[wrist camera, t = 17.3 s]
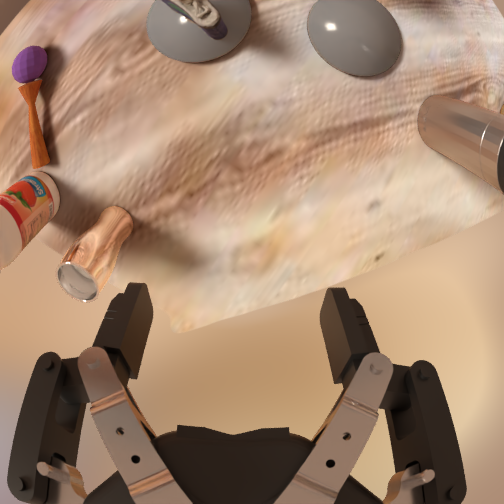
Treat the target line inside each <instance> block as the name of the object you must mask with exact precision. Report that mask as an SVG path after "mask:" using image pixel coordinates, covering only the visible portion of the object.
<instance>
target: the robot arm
mask: <svg viewBox="0 0 504 504" xmlns="http://www.w3.org/2000/svg"><path fill="white" fill-rule="evenodd" d="M418 129H419V133H420V135H421V138H422V139H423V141H424V142H425V143H426V144H427V145H428V146H429V147H431V148H432V149H434V150H436V151H438V152H439V153H441V154H443V155H445V156H446V157H448V158H450V159H451V160H453V161H455V162H456V163H458V164H460V165H461V166H463V167H465V168H466V169H468V170H469V171H471V172H472V173H474V174H475V175H477V176H478V177H480V178H481V179H483V180H484V181H486V182H487V183H489V184H490V185H492V186H493V187H495V188H496V189H497V190H499V191H500V192H501V193H503V194H504V115H503V114H500V113H497V112H495V111H492V110H489V109H486V108H483V107H480V106H477V105H474V104H471V103H467V102H464V101H461V100H457V99H454V98H450V97H446V96H442V95H433V96H431V97H429V98H427V99H426V100H425V101H424V102H423V104H422V105H421V108H420V110H419V114H418ZM152 319H153V306H152V303H151V299H150V295H149V292H148V288H147V285H146V284H145V283H131V282H130V283H129V284H128V285H127V288H126V290H125V292H124V294H123V293H119V294H118V295H117V296H116V297H115V298H114V299H113V300H112V301H111V303H110V305H109V307H108V309H107V312H106V314H105V317H104V319H103V321H102V324H101V326H100V328H99V331H98V334H97V336H96V338H95V341H94V343H93V346H92V347H90V348H87V349H85V350H84V351H83V352H82V353H81V354H80V356H79V357H76V358H69V359H61V358H60V357H59V356H58V355H57V354H56V353H54V352H47V353H44V354H43V355H41V356H40V357H39V359H38V360H37V362H36V365H35V368H34V370H33V373H32V376H31V379H30V382H29V385H28V388H27V391H26V394H25V397H24V401H23V404H22V408H21V411H20V415H19V418H18V423H17V427H16V431H15V435H14V440H13V445H12V450H11V456H10V462H9V468H8V476H7V482H8V487H9V489H10V491H11V493H12V494H13V495H14V496H15V497H16V498H17V499H18V500H20V501H23V502H26V503H30V504H461V502H462V501H463V500H464V498H465V495H466V490H467V488H466V480H465V474H464V469H463V463H462V458H461V453H460V449H459V444H458V440H457V436H456V432H455V428H454V425H453V421H452V417H451V414H450V410H449V407H448V404H447V401H446V397H445V394H444V391H443V389H442V385H441V382H440V380H439V377H438V374H437V371H436V369H435V367H434V366H433V365H432V364H431V363H429V362H427V361H424V360H419V361H416V362H415V363H414V364H413V365H412V366H411V367H409V366H402V365H396V364H392V363H391V361H390V359H389V358H388V357H387V356H385V355H383V354H381V353H380V351H379V349H378V346H377V343H376V340H375V338H374V335H373V332H372V330H371V327H370V325H369V322H368V319H367V318H366V314H365V312H364V310H363V307H362V306H361V305H360V303H358V301H357V300H356V299H350V298H349V296H348V293H347V291H346V289H345V288H328V289H327V291H326V294H325V298H324V301H323V305H322V308H321V311H320V324H321V329H322V333H323V337H324V340H325V345H326V349H327V353H328V358H329V362H330V367H331V371H332V376H333V381H334V384H338V383H342V384H343V388H344V389H343V391H342V392H341V394H340V396H339V398H338V399H337V401H336V403H335V405H334V406H333V408H332V410H331V411H330V413H329V415H328V416H327V418H326V420H325V421H324V423H323V424H322V426H321V427H320V429H319V430H318V432H317V433H316V434H315V436H314V437H313V439H312V440H311V441H310V440H308V439H307V438H305V437H302V436H300V435H296V434H292V433H289V427H286V428H263V429H258V430H254V431H250V432H245V433H241V434H236V435H230V434H226V433H222V432H219V431H215V430H212V429H208V428H205V427H194V426H183V425H177V431H172V432H168V433H165V434H162V435H160V436H158V437H157V436H156V434H155V432H154V431H153V429H152V428H151V427H150V425H149V424H148V422H147V421H146V419H145V417H144V416H143V414H142V412H141V410H140V409H139V407H138V405H137V403H136V401H135V399H134V398H133V396H132V394H131V392H130V390H129V388H128V386H127V384H128V380H129V378H131V379H137V377H138V373H139V368H140V365H141V361H142V357H143V353H144V349H145V345H146V342H147V338H148V334H149V331H150V327H151V323H152ZM89 402H91V405H92V407H91V408H90V412H91V415H92V417H93V420H94V422H95V424H96V427H97V429H98V431H99V433H100V436H101V438H102V440H103V442H104V444H105V446H106V448H107V450H108V452H109V454H110V456H111V458H112V460H113V462H114V463H115V465H116V467H117V469H118V470H117V471H116V472H115V473H114V474H113V475H112V476H111V477H109V478H108V479H107V480H106V481H104V482H103V483H102V484H101V485H100V486H98V487H97V488H96V489H95V490H93V491H92V492H91V493H90V494H89V495H87V494H86V492H85V490H84V487H83V486H84V482H83V479H82V475H81V474H80V472H79V471H78V470H77V469H76V460H77V454H78V447H79V441H80V435H81V428H82V423H83V418H84V413H85V409H86V404H87V403H89ZM378 408H380V409H385V414H386V419H387V424H388V429H389V435H390V440H391V446H392V452H393V458H394V465H395V472H396V474H394V475H393V476H392V478H391V479H390V481H389V483H388V488H387V495H386V497H385V499H384V500H383V501H381V500H380V499H379V498H378V497H377V496H375V495H374V494H373V493H372V492H370V491H369V490H368V489H367V488H365V487H364V486H363V485H362V484H360V483H359V482H358V481H357V480H356V479H354V478H353V477H352V476H351V475H350V472H351V471H352V469H353V467H354V465H355V463H356V462H357V460H358V458H359V456H360V454H361V452H362V450H363V449H364V447H365V445H366V443H367V441H368V439H369V437H370V435H371V433H372V431H373V428H374V426H375V424H376V422H377V419H378V416H379V414H378V413H377V411H378Z"/></svg>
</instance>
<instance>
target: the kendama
mask: <svg viewBox="0 0 504 504" xmlns="http://www.w3.org/2000/svg"><path fill="white" fill-rule="evenodd" d="M46 64H47V54H46V52H45V50H44V49H43V48H41V47H40V46H30V47H27V48H25V49H24V50H23V51H21V52H20V53H19V54H18V55H17V57H16V58H15V60H14V63H13V65H12V74H13V76H14V78H15V80H16V81H18V82H19V83H26V84H25V85H23V86H21V87H19V88H18V89H19V91H20V92H21V94H22V96H23V97H24V99H25V100H26V102H27V104H28V105H29V132H30V146H31V157H32V166H33V168H34V169H36V168H40V167H42V166H45V165H46V164H48V163H49V162H50V159H49V155H48V152H47V149H46V145H45V142H44V138H43V135H42V131H41V127H40V123H39V119H38V115H37V111H36V106H35V101H36V98H37V95H38V92H39V89H40V85H41V83H42V80H36V81H34V80H35V79H37V78H38V77H39V76H40V75H41V74H42V72H43V71H44V70H45V67H46Z"/></svg>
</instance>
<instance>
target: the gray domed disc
mask: <svg viewBox="0 0 504 504" xmlns="http://www.w3.org/2000/svg"><path fill="white" fill-rule="evenodd" d="M307 30H308V35H309V38H310V41H311V43H312V45H313V47H314V48H315V50H316V51H317V53H318V54H319V55H320V56H321V57H322V58H323V59H324V60H325V61H326V62H327V63H328V64H330V65H331V66H333V67H334V68H336V69H338V70H340V71H342V72H344V73H347V74H351V75H357V76H373V75H377V74H380V73H383V72H384V71H386V70H388V69H389V68H390V67H391V66H392V65H393V64H394V63H395V61H396V60H397V58H398V56H399V53H400V49H401V36H400V32H399V28H398V26H397V23H396V22H395V20H394V18H393V17H392V15H391V14H390V12H389V11H388V10H387V9H386V8H385V7H384V6H383V5H382V4H380V3H379V2H378V1H376V0H318V1H317V2H316V3H315V4H314V5H313V7H312V8H311V10H310V12H309V15H308V20H307Z"/></svg>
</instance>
